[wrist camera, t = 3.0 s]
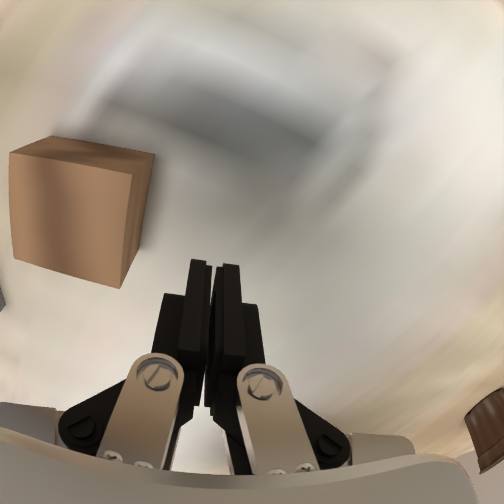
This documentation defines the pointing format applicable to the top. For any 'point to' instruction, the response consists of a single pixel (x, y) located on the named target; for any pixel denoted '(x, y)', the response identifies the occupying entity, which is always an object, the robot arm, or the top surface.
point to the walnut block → (78, 207)
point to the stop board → (1, 301)
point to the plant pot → (488, 430)
